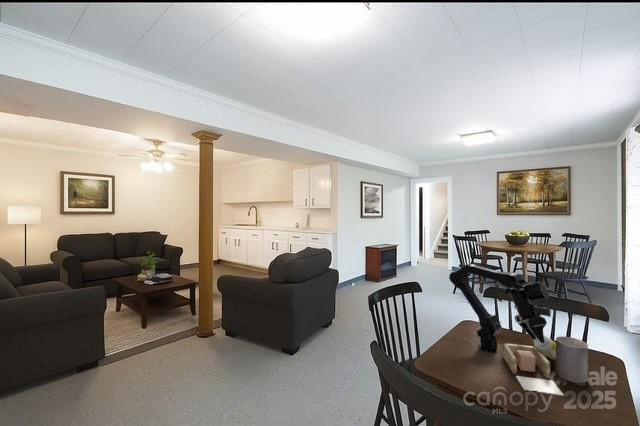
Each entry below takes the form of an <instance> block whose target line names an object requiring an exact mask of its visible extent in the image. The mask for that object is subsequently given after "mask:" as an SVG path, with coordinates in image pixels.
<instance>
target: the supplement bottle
mask: <svg viewBox="0 0 640 426" xmlns="http://www.w3.org/2000/svg"><path fill="white" fill-rule="evenodd" d="M543 335H544V334H543ZM535 337H536V336H535ZM532 342H533V344H534V347H536V348H537V349H538V350H539V351H540V352H541V353H542V354H543V355H544V356H545V357H548V358H550V359H556V341H555V342H554V340H552V339H551V338H550V337H548V336H547V335H544V342H545V343H541V342H540V341H539V340H538V339H537V337H536V339H534V340H533V339H532Z"/></svg>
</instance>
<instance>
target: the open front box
mask: <svg viewBox="0 0 640 426" xmlns="http://www.w3.org/2000/svg"><path fill="white" fill-rule="evenodd" d="M517 350H522V351H530V352H531V353H532V354H533V355H534V356H535V366H536V367H537V368H538V369H539V370H540V372H541V373H542V374H543V376H545V378H548V379H551V362H550V361H549V360H548V359H547V358H546V356H545V354H544V353H543V352H541V351H540V350H539V349H538V348H537V347H536V346H535V345H533V346H530V345H523V344H522V345H521V344H515V343H504V342H503V343H502V357H503V359H504V360H505V362H506V364H507V365H508V367H509V369H510V371H511V372H512V373H513V374H517V372H518V369H517V367H518V365H517Z"/></svg>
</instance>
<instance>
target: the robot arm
mask: <svg viewBox="0 0 640 426" xmlns="http://www.w3.org/2000/svg"><path fill="white" fill-rule="evenodd" d="M471 275H474V276H475V275H476V276H478V277H482V278H486V279H488V280H489V279H490V280H492V281H495V282H497V283H498V284H500V285H502V286H504V287H506V289H505V291H504V295H507V294H508V295H509V294H510V298H511V299H512V301H513V304H514V306H513V308H514V309H516V311H517V313H518V314H515V316H514V320H515V323H517V325H518V326H520V327H521V328H522V330H523V331H524V332H526V334H527V335H528V336H529V337H530V338H531V339H532V341H533V340H534V339H536V337H537V339H538V340H539V341H540V342H541V343H545V342H544V328H545V327H546V326H547V324H548V322H547V320H546V318H545V316H546V317H552V316H551V308H549V307H548V308H547V307H543V305H541V304H535V306H534V304H533V303H531V301H532V302H535V301H540V300H542V301H543V300H548V299H549V297H550V293H549V290H548V289H547V288H546V286H545V285H543V284H542V282H541V281H537V282H534V283H530V282H528V281H527V280H525V279H523V278H522V277H521V275H520V274H519V273H517V272H512V271H511V272H510V271H497V270H494V269H491V268H487V267H483V266H478V265H477V264H476V265H475V264H473V263H470V264H466V265H465V266H464V267H462V268H460V269H458V270H456V271H455V270H454V271H452V272H450V273H449V276H448V279H449V281H450V282H451V283H452V284H453V286H454V287H456V288H457V289H458V290H460V291H461V293H462V295H463V296H464V298H465V299H466V300H467V302H468V303H469V306H471V308H472V309H473V311H474V313H475V314H476V315H477V318H478V323H479V326H480V329H478V330H476V334H477V337H479V342H478V347H479V349H480V350H481V352H491V353H498V340H497V337H496V336H498V334H499V333H500V332H501V331H502V328H503V327H502V324H501V323H502V322H501V321H500V320H499V319H498V317H497V316H496V314H493V315H492V314H490V313H489V312H488V309H486V308H485V306H484V305H483V303H482V301H481V300H480V298H479V297H478V295H477V294H476V293H475V291H474V290H473V288H472V287H471V285H470V279H469V277H470V276H471ZM543 316H544V317H543ZM535 336H536V337H535Z"/></svg>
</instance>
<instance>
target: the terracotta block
mask: <svg viewBox="0 0 640 426" xmlns="http://www.w3.org/2000/svg"><path fill="white" fill-rule="evenodd" d="M517 367H518V368H519V370H520V371H525V372H531V373H535V372H536V364H535V356H534V355H533V354H532V353H531V352H530V351H522V350H517Z"/></svg>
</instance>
